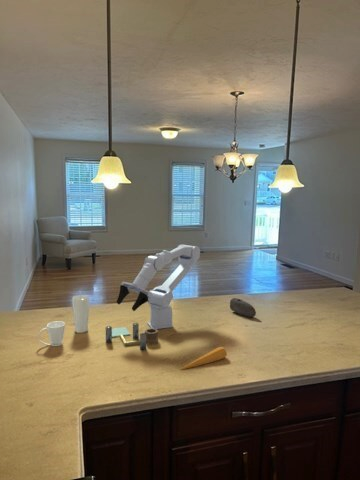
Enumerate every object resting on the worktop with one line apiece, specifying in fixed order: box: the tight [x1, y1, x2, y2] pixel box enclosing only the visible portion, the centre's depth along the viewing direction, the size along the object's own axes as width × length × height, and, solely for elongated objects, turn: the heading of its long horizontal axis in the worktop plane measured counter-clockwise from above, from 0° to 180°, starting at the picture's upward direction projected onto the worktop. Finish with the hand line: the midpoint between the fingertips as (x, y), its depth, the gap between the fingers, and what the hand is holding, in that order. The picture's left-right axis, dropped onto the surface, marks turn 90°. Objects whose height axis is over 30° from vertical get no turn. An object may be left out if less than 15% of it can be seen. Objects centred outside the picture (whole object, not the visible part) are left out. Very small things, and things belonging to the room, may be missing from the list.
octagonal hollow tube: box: [144, 327, 159, 345], centre depth 143 cm, size 5×5×4 cm
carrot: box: [179, 346, 228, 371], centre depth 127 cm, size 20×4×4 cm, turn 122°
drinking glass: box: [71, 294, 90, 334], centre depth 152 cm, size 7×7×15 cm
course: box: [105, 322, 147, 351], centre depth 140 cm, size 14×15×6 cm
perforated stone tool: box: [229, 297, 257, 318], centre depth 176 cm, size 15×5×7 cm, turn 38°
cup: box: [38, 320, 66, 347], centre depth 139 cm, size 7×10×8 cm
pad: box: [112, 326, 131, 339], centre depth 152 cm, size 8×8×1 cm
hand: (125, 306), depth 143 cm, fingers open, 7 cm apart
